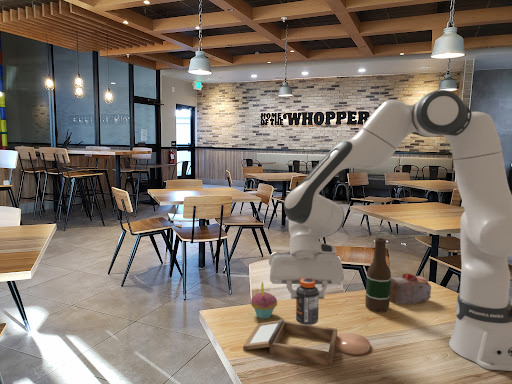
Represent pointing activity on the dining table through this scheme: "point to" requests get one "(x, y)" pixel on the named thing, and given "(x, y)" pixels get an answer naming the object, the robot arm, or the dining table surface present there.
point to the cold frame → (302, 352)
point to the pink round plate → (352, 343)
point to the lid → (260, 335)
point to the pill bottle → (307, 302)
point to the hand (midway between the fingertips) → (307, 298)
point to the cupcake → (263, 304)
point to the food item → (409, 289)
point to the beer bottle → (378, 280)
